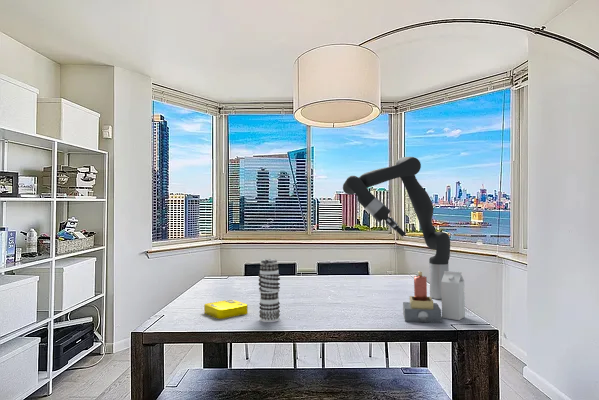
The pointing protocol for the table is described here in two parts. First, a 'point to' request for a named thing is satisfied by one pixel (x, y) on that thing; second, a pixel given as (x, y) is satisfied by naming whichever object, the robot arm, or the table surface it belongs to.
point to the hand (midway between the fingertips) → (403, 234)
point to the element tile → (225, 309)
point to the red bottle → (420, 287)
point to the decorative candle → (269, 290)
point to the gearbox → (421, 311)
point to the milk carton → (453, 295)
